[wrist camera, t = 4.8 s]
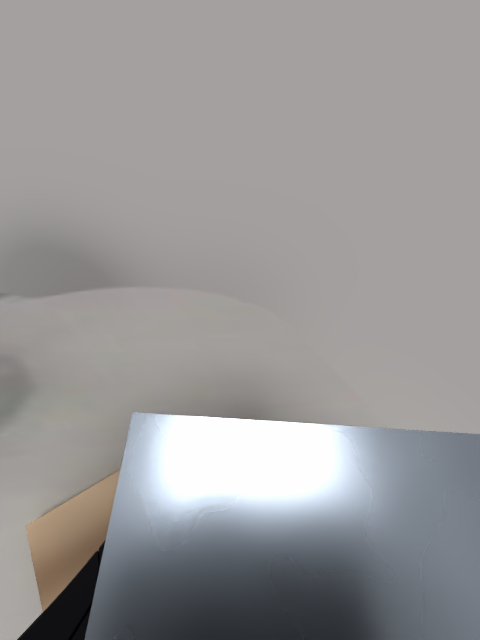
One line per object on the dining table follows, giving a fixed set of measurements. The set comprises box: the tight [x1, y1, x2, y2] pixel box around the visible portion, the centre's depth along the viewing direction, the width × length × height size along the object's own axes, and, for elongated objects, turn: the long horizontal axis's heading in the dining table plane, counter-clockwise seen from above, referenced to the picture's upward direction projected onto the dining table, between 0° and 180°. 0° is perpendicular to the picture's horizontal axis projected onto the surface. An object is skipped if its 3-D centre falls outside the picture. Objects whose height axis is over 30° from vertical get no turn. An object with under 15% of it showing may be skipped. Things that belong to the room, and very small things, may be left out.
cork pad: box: [26, 469, 121, 612], centre depth 18 cm, size 9×9×2 cm
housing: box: [85, 412, 480, 640], centre depth 8 cm, size 5×5×13 cm
